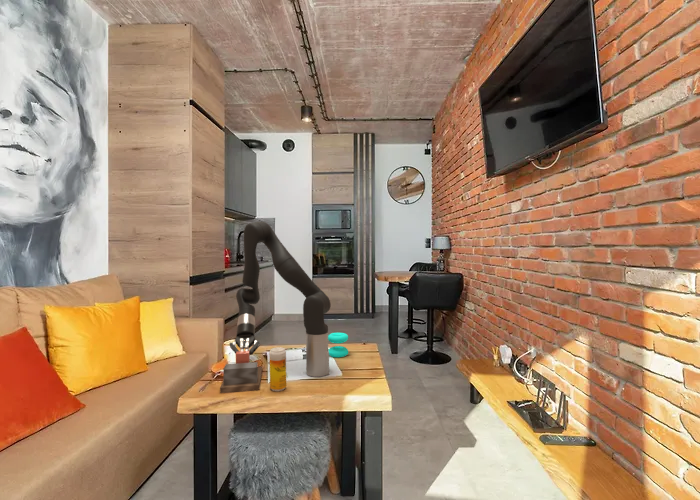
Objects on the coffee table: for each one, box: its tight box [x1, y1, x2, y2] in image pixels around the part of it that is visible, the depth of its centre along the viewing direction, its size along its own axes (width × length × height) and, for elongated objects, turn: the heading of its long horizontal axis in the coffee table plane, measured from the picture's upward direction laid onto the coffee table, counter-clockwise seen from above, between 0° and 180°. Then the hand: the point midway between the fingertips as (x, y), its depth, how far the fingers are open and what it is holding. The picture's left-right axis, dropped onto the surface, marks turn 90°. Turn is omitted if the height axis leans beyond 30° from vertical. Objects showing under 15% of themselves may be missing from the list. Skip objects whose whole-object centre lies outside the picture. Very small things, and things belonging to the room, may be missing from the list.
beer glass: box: [268, 346, 287, 392], centre depth 140 cm, size 6×6×15 cm
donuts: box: [328, 332, 349, 358], centre depth 179 cm, size 10×10×10 cm
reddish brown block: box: [235, 350, 251, 364], centre depth 148 cm, size 5×3×9 cm, turn 100°
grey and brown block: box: [219, 361, 263, 394], centre depth 147 cm, size 14×20×8 cm
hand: (243, 363), depth 151 cm, fingers closed
